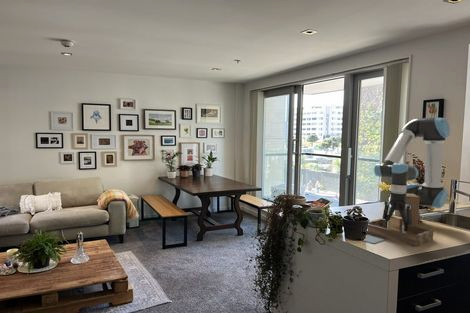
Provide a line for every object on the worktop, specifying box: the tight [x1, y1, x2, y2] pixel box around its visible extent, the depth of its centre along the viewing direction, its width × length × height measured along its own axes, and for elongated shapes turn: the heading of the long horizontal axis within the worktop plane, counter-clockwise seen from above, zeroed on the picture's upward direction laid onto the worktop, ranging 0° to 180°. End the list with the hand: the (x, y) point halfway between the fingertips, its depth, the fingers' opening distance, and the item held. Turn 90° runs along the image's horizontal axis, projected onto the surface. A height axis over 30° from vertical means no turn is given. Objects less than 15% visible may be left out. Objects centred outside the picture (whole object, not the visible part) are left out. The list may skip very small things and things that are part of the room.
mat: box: [362, 234, 385, 245], centre depth 174 cm, size 10×10×1 cm
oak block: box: [389, 215, 404, 232], centre depth 181 cm, size 5×5×10 cm
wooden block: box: [394, 194, 420, 227], centre depth 194 cm, size 10×10×20 cm
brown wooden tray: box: [366, 218, 434, 248], centre depth 181 cm, size 19×29×5 cm, turn 36°
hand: (396, 234), depth 181 cm, fingers open, 8 cm apart
